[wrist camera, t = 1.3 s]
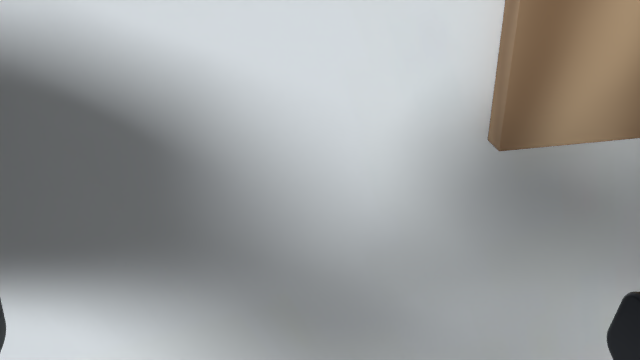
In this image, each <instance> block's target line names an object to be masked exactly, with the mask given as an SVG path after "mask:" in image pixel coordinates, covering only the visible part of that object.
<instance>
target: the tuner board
mask: <svg viewBox="0 0 640 360" xmlns="http://www.w3.org/2000/svg"><path fill="white" fill-rule="evenodd" d="M633 138H640V0H505V8H504V16H503V24H502V32H501V39H500V47H499V55H498V63H497V71H496V79H495V87H494V95H493V102H492V110H491V118H490V126H489V134H488V141H489V142H490V143H491V144H492V145H493V146H494V147H495V148H496V149H497V150H498V151H507V150H517V149H528V148H538V147H549V146H559V145H570V144H580V143H591V142H601V141H612V140H622V139H633Z"/></svg>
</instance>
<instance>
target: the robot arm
mask: <svg viewBox="0 0 640 360" xmlns="http://www.w3.org/2000/svg"><path fill="white" fill-rule="evenodd" d="M5 335H6V322H5V318H4V313H3V308H2V304H1V299H0V352H1V349H2V347H3V344H4V340H5ZM607 344H608V348H609V351H610V353H611V355H612V358H613V360H640V292H630V293H628V294H627V295H626V296H625V297H624V298H623V300H622V302H621V304H620V306H619V308H618V310H617V312H616V314H615V316H614V319H613V321H612V323H611V325H610V327H609V329H608V332H607Z"/></svg>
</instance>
